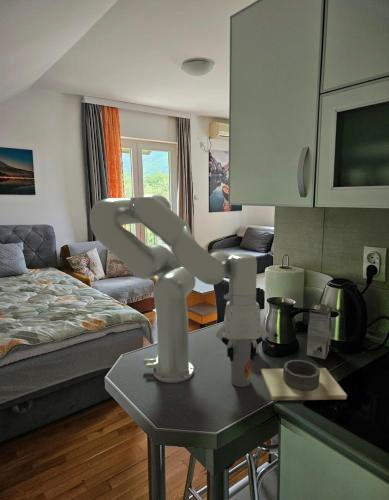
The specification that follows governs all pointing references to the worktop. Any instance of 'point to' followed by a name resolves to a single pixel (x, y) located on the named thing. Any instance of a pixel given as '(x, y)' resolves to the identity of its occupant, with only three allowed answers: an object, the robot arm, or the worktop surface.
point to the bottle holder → (301, 382)
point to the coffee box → (319, 330)
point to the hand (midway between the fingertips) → (241, 358)
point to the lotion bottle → (241, 363)
